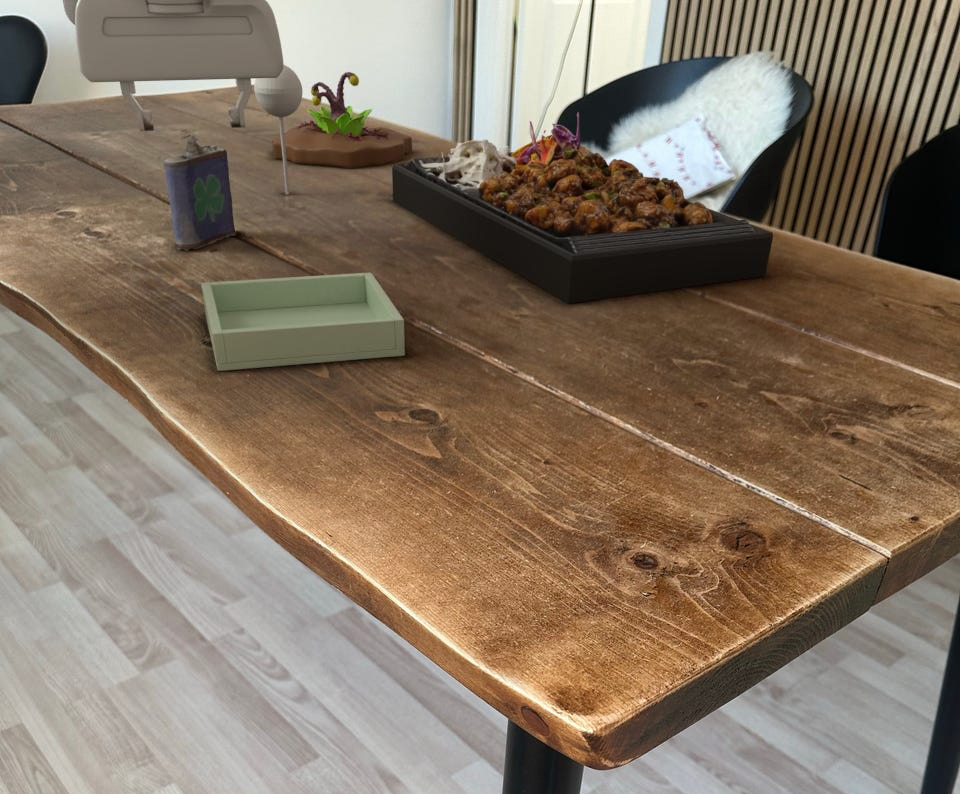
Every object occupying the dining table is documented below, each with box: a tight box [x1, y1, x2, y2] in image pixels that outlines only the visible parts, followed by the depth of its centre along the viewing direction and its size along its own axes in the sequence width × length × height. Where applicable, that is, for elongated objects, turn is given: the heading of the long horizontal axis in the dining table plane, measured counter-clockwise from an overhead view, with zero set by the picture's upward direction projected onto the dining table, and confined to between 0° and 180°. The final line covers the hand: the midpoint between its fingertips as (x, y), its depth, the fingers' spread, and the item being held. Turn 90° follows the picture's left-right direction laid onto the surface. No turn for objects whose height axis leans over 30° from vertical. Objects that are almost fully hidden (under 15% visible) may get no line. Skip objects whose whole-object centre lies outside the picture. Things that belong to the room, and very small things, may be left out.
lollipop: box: [253, 64, 303, 195], centre depth 123 cm, size 6×6×15 cm
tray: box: [200, 272, 406, 372], centre depth 84 cm, size 16×14×3 cm
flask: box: [163, 133, 237, 252], centre depth 106 cm, size 9×3×11 cm, turn 154°
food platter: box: [391, 111, 774, 304], centre depth 112 cm, size 45×25×10 cm, turn 26°
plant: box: [271, 71, 413, 169], centre depth 146 cm, size 20×20×11 cm
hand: (193, 128), depth 102 cm, fingers open, 8 cm apart
